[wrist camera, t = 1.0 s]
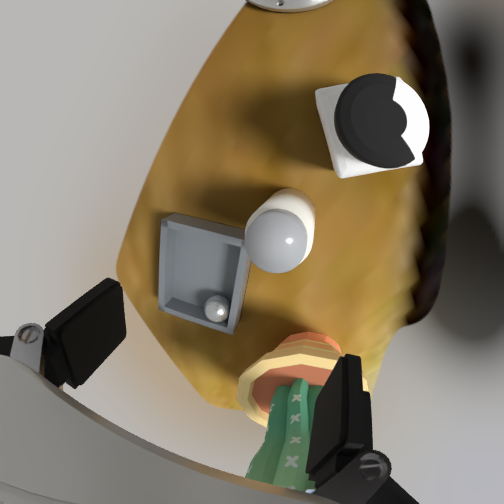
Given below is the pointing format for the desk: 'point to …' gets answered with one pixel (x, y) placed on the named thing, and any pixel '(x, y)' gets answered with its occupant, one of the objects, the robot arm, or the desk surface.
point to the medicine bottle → (372, 124)
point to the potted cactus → (287, 405)
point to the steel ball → (217, 308)
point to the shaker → (281, 231)
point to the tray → (201, 269)
